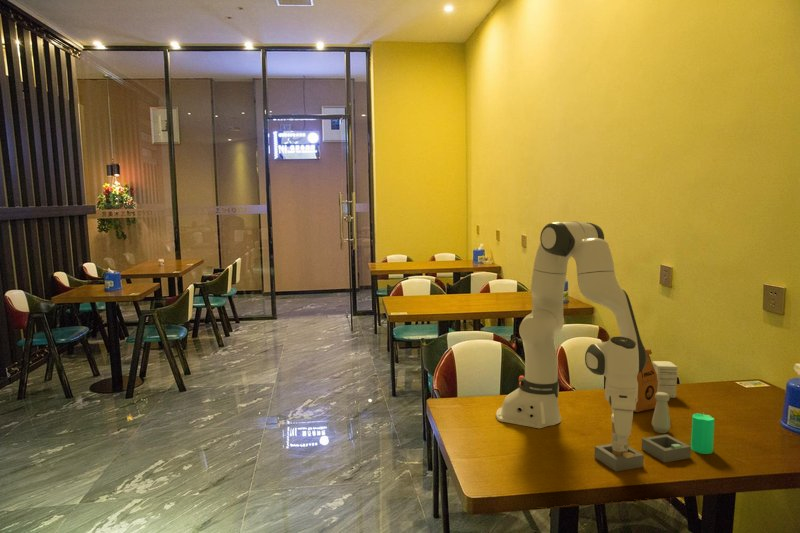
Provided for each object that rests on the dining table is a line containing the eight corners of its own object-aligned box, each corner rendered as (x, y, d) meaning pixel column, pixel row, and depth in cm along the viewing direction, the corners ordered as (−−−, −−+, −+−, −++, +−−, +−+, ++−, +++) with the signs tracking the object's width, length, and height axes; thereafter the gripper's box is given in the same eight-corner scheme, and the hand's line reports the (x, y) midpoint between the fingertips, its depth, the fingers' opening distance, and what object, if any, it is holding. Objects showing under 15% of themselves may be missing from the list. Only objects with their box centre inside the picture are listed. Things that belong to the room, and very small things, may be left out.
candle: (712, 455, 170) (714, 417, 169) (689, 451, 173) (691, 413, 172) (713, 448, 175) (715, 410, 174) (691, 443, 178) (693, 407, 177)
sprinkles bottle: (620, 455, 169) (619, 411, 168) (632, 461, 165) (631, 416, 164) (608, 458, 167) (607, 414, 166) (619, 464, 163) (619, 419, 162)
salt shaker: (672, 435, 185) (674, 396, 184) (653, 433, 186) (655, 395, 185) (667, 428, 191) (669, 390, 189) (649, 426, 192) (651, 389, 190)
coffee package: (661, 410, 207) (664, 351, 204) (636, 415, 202) (638, 355, 199) (639, 401, 216) (642, 345, 213) (615, 406, 211) (617, 349, 208)
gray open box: (615, 471, 160) (616, 457, 160) (594, 457, 169) (595, 443, 169) (643, 466, 163) (643, 452, 163) (621, 452, 172) (621, 439, 172)
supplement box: (650, 391, 228) (651, 360, 226) (669, 391, 227) (671, 361, 226) (656, 397, 220) (658, 366, 219) (676, 398, 220) (678, 366, 218)
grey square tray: (664, 462, 166) (665, 448, 165) (641, 449, 175) (642, 435, 174) (690, 457, 169) (691, 443, 168) (666, 444, 178) (667, 431, 177)
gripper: (607, 381, 175) (606, 424, 176) (611, 404, 155) (610, 452, 157) (629, 383, 173) (627, 427, 175) (636, 406, 154) (634, 455, 155)
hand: (619, 439), depth 166 cm, fingers closed on sprinkles bottle, 4 cm apart
